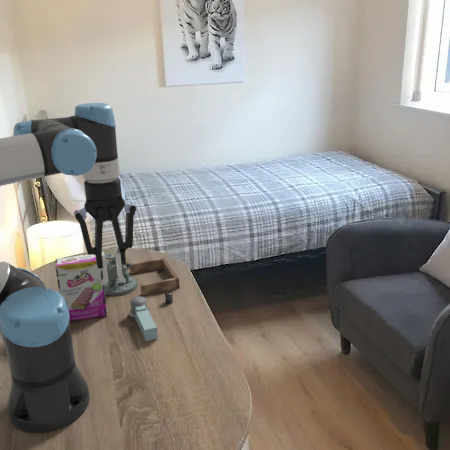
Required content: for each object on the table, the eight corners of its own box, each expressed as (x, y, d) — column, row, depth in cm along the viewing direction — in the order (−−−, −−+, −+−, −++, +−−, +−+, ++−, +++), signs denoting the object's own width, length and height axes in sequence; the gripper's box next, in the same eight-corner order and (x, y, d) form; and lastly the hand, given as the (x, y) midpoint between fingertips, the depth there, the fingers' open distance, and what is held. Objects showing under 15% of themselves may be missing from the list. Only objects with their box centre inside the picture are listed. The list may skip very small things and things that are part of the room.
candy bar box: (63, 324, 127) (54, 265, 121) (63, 314, 131) (54, 257, 126) (108, 316, 130) (101, 259, 124) (106, 307, 135) (99, 251, 129)
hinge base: (132, 321, 128) (131, 312, 127) (126, 308, 134) (125, 300, 133) (179, 311, 132) (178, 302, 131) (171, 299, 138) (171, 291, 137)
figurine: (144, 283, 147) (141, 246, 143) (119, 299, 139) (115, 259, 135) (118, 275, 153) (114, 239, 148) (92, 290, 144) (87, 252, 140)
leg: (143, 341, 119) (142, 327, 117) (130, 311, 132) (128, 298, 130) (159, 337, 120) (158, 323, 119) (145, 308, 133) (144, 295, 132)
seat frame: (142, 295, 140) (141, 286, 139) (130, 272, 154) (129, 263, 153) (179, 288, 144) (179, 278, 143) (164, 266, 158) (164, 257, 157)
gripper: (65, 187, 100) (79, 292, 108) (142, 178, 105) (150, 279, 113) (61, 178, 106) (75, 278, 115) (134, 170, 112) (143, 266, 120)
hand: (113, 278), depth 114 cm, fingers open, 3 cm apart
